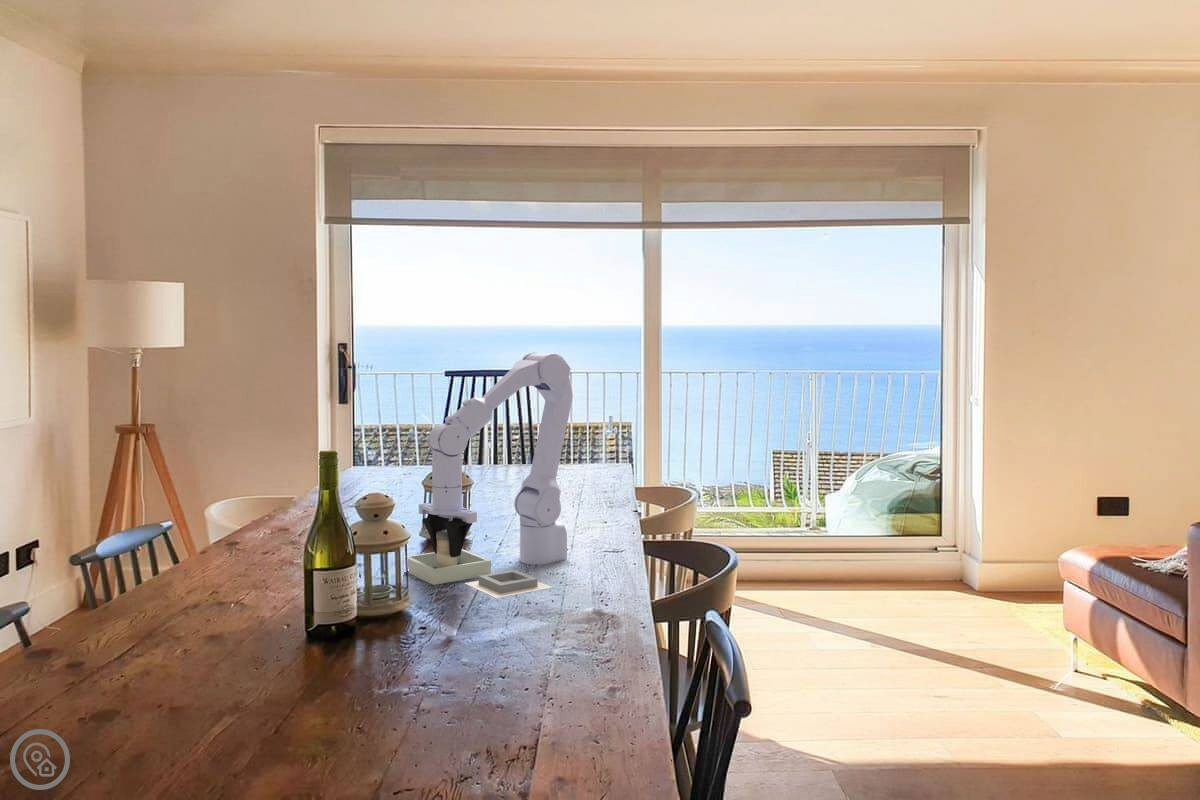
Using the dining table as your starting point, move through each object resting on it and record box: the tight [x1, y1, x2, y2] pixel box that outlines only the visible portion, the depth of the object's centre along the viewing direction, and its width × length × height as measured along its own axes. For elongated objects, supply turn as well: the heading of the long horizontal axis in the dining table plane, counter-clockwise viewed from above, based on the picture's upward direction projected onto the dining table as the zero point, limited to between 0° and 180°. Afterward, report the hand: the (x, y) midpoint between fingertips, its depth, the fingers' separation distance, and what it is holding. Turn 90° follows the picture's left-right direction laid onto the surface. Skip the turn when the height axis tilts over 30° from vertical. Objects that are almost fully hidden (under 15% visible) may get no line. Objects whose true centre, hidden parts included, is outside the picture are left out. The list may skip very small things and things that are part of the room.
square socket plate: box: [463, 569, 553, 599], centre depth 175 cm, size 12×12×3 cm
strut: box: [436, 530, 459, 568], centre depth 183 cm, size 4×4×7 cm
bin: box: [407, 548, 492, 586], centre depth 183 cm, size 12×12×4 cm
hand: (447, 554), depth 183 cm, fingers closed on strut, 4 cm apart
